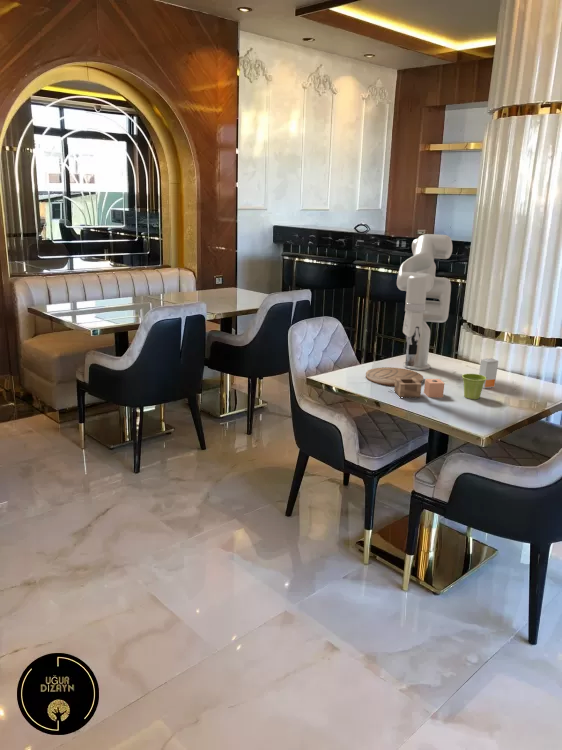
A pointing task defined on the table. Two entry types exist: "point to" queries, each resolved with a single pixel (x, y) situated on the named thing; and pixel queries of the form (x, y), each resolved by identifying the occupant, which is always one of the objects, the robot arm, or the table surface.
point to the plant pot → (473, 385)
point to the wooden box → (407, 387)
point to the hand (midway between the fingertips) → (410, 352)
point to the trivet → (390, 375)
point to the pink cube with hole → (434, 388)
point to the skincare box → (489, 371)
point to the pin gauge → (409, 357)
